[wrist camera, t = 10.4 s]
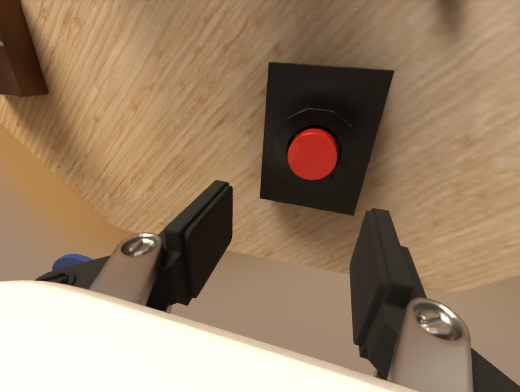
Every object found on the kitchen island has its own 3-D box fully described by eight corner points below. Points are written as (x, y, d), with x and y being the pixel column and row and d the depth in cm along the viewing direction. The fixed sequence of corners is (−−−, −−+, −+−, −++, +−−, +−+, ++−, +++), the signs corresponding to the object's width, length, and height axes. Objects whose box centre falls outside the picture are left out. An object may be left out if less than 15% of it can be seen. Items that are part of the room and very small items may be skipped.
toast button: (332, 175, 21) (331, 183, 19) (288, 168, 21) (285, 176, 20) (341, 130, 19) (341, 136, 17) (293, 125, 20) (290, 130, 18)
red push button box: (352, 199, 26) (354, 226, 22) (267, 185, 28) (254, 207, 24) (386, 69, 20) (399, 71, 16) (277, 62, 22) (262, 61, 18)
